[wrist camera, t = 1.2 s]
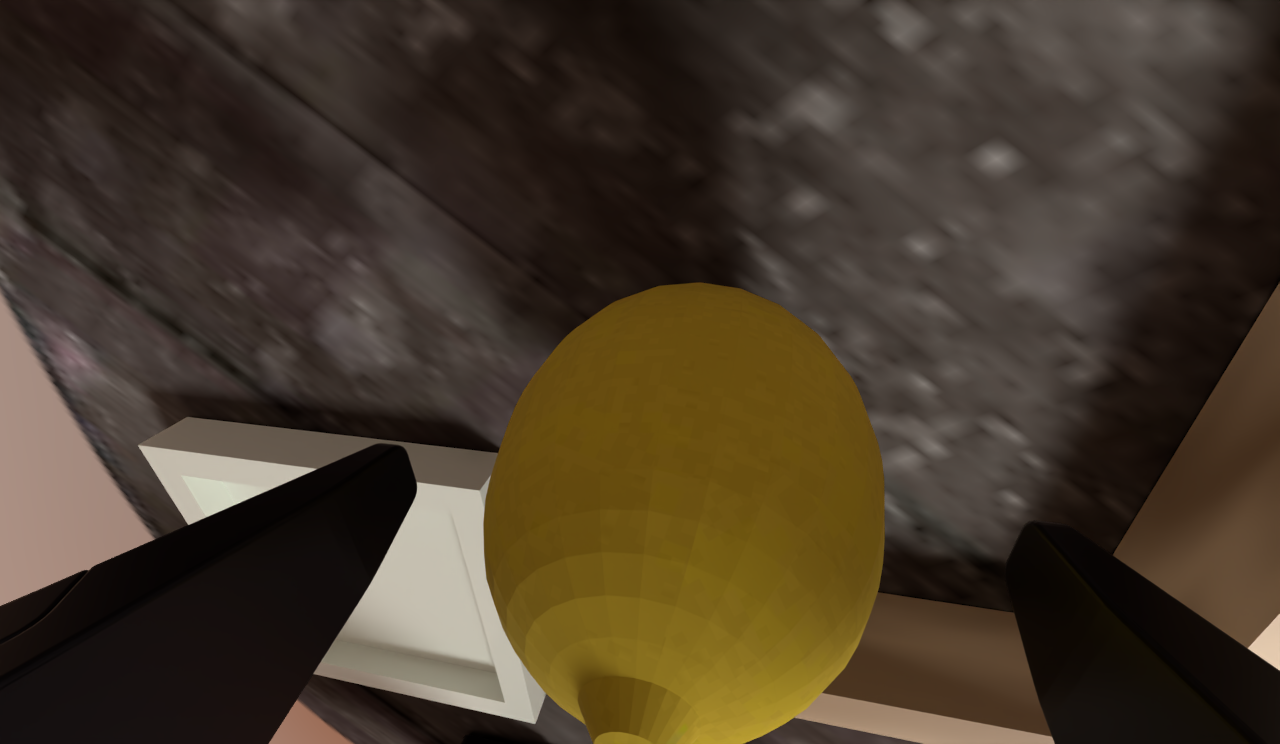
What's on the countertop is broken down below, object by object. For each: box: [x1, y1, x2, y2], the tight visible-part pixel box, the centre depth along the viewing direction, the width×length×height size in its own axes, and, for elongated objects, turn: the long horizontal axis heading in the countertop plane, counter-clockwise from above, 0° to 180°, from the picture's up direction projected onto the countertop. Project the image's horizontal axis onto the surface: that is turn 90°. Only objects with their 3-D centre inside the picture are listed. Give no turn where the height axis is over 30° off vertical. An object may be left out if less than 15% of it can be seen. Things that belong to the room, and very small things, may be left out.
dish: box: [138, 417, 546, 724], centre depth 17 cm, size 11×11×2 cm
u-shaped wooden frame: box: [795, 282, 1280, 744], centre depth 9 cm, size 16×15×3 cm
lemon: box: [483, 282, 885, 744], centre depth 8 cm, size 6×6×8 cm
